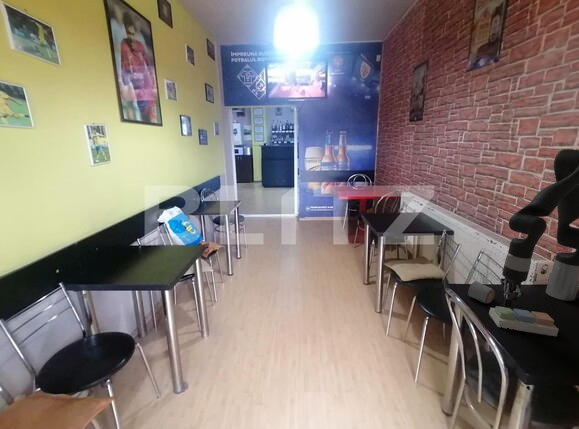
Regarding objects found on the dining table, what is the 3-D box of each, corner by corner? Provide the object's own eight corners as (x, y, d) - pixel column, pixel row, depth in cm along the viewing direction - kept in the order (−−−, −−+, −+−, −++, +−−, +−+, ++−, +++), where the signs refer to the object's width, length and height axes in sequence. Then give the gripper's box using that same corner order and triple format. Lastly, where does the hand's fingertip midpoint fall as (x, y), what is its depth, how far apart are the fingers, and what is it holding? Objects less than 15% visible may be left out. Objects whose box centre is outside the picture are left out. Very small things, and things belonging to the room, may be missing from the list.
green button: (508, 314, 116) (509, 308, 115) (514, 321, 111) (516, 315, 110) (494, 312, 117) (495, 306, 116) (499, 319, 112) (501, 312, 112)
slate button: (526, 316, 114) (528, 310, 114) (533, 324, 110) (534, 318, 109) (511, 314, 115) (513, 308, 115) (517, 322, 111) (519, 315, 110)
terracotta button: (544, 319, 113) (546, 313, 112) (552, 327, 108) (554, 320, 107) (529, 317, 114) (531, 311, 113) (536, 324, 109) (538, 318, 109)
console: (542, 322, 115) (544, 315, 114) (556, 336, 107) (558, 329, 106) (489, 313, 120) (490, 307, 119) (498, 327, 111) (499, 320, 110)
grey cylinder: (485, 306, 125) (489, 290, 123) (466, 297, 131) (469, 282, 130) (496, 300, 131) (500, 285, 129) (477, 292, 137) (481, 277, 135)
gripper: (538, 275, 101) (526, 318, 106) (519, 260, 114) (509, 299, 118) (513, 272, 103) (503, 314, 108) (497, 258, 116) (489, 296, 120)
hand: (506, 306), depth 113 cm, fingers closed
